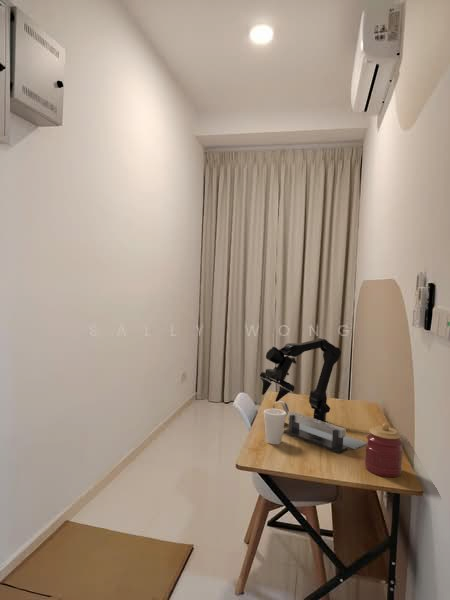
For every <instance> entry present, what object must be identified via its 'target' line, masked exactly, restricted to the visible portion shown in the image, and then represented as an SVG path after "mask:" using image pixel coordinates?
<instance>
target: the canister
mask: <svg viewBox="0 0 450 600" xmlns="http://www.w3.org/2000/svg"><path fill="white" fill-rule="evenodd" d="M368 432H369V433H368V434H367V435H366V436H365V437H366V439H367V442H365V443H366V445H365V446H366V447H365V458H364V465H365V469H366V470H367V471H368V472H370V473H371V474H374V475H376V476H380V477H385V478H396V477H399V476H400V475H401V473H402V470H403V467H402V464H403V453H404V451H403V448H402V447H403V445H404V440H403V439H402V438H401V437H402V434H401V433H400V432H398V430H397V429H395V428H393V427H390V425H389V424H388V423H385V422H384V423H382V425H376V426H373V427H371V428H370V429H368Z"/></svg>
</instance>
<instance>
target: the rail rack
mask: <svg viewBox="0 0 450 600" xmlns="http://www.w3.org/2000/svg"><path fill="white" fill-rule="evenodd" d="M293 418H294V416H292V415H290V416H289V420H288V428H287V429H283V434H286V435H289V436H291V437H294V438H297V439H299V440H302V441H305V442H307V443H309V444H312V445H315V446H318V447H320V448H322V449H325V450H328V451H330V452H334V453H336V454H338V455H339V454H341V453H344V452H346V451H349V448H348V447H347V446H344V445H343V437H342V438H340V437H337V432H338V431H336V430H333V437H332V441H330V440H327V439H324V438H322V437H319V436H316V435H313V434H311V433H308V432H305V431H302V430H300V429H299V425H301V424H300V423H297V422H294V421H293Z"/></svg>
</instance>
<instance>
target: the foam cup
mask: <svg viewBox="0 0 450 600" xmlns="http://www.w3.org/2000/svg"><path fill="white" fill-rule="evenodd" d="M263 417H264V419H263V420H264V431H265V442H266V443H268V444H270V445H279V444H281V442H282V437H283V434H284V427H285V423H286V418H287V416H286V412H285V410H284V409H280V408H275V409H273V408H267V409H264V410H263ZM284 422H285V423H284Z"/></svg>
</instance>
